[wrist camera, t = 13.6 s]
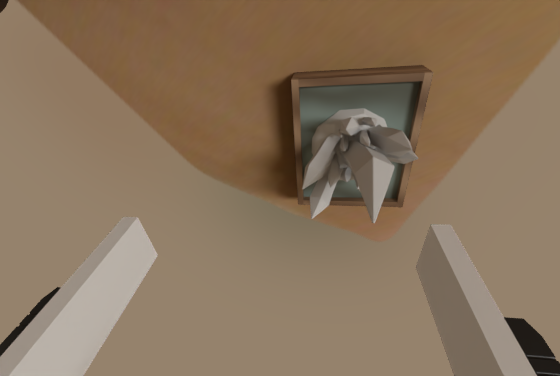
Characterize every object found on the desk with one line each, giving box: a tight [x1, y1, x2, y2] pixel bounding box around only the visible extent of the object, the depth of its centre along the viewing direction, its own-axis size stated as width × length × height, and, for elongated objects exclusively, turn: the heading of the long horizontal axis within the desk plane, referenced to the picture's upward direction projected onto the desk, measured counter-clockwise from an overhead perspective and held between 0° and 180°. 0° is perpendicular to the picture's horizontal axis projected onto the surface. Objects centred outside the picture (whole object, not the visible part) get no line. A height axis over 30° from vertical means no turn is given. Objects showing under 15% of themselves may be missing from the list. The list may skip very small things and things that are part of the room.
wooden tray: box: [291, 65, 433, 207], centre depth 35 cm, size 18×15×4 cm
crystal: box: [302, 108, 418, 223], centre depth 28 cm, size 10×13×15 cm
